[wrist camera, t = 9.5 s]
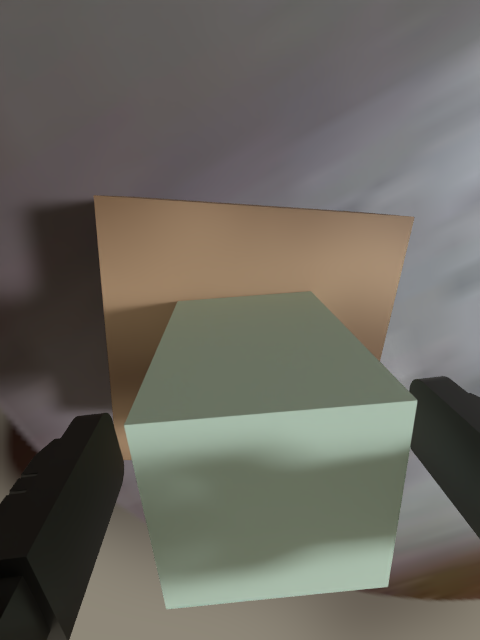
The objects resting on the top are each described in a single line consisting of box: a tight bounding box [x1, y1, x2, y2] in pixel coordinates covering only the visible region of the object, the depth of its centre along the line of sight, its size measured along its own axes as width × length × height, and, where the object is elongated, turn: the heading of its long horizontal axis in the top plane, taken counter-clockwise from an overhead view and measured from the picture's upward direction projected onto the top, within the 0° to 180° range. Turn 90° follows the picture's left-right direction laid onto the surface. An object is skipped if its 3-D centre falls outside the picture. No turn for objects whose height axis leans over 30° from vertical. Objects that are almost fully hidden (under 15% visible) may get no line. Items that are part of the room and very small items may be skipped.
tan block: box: [94, 195, 414, 460], centre depth 15 cm, size 11×11×5 cm
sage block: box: [124, 291, 418, 609], centre depth 10 cm, size 5×5×7 cm
